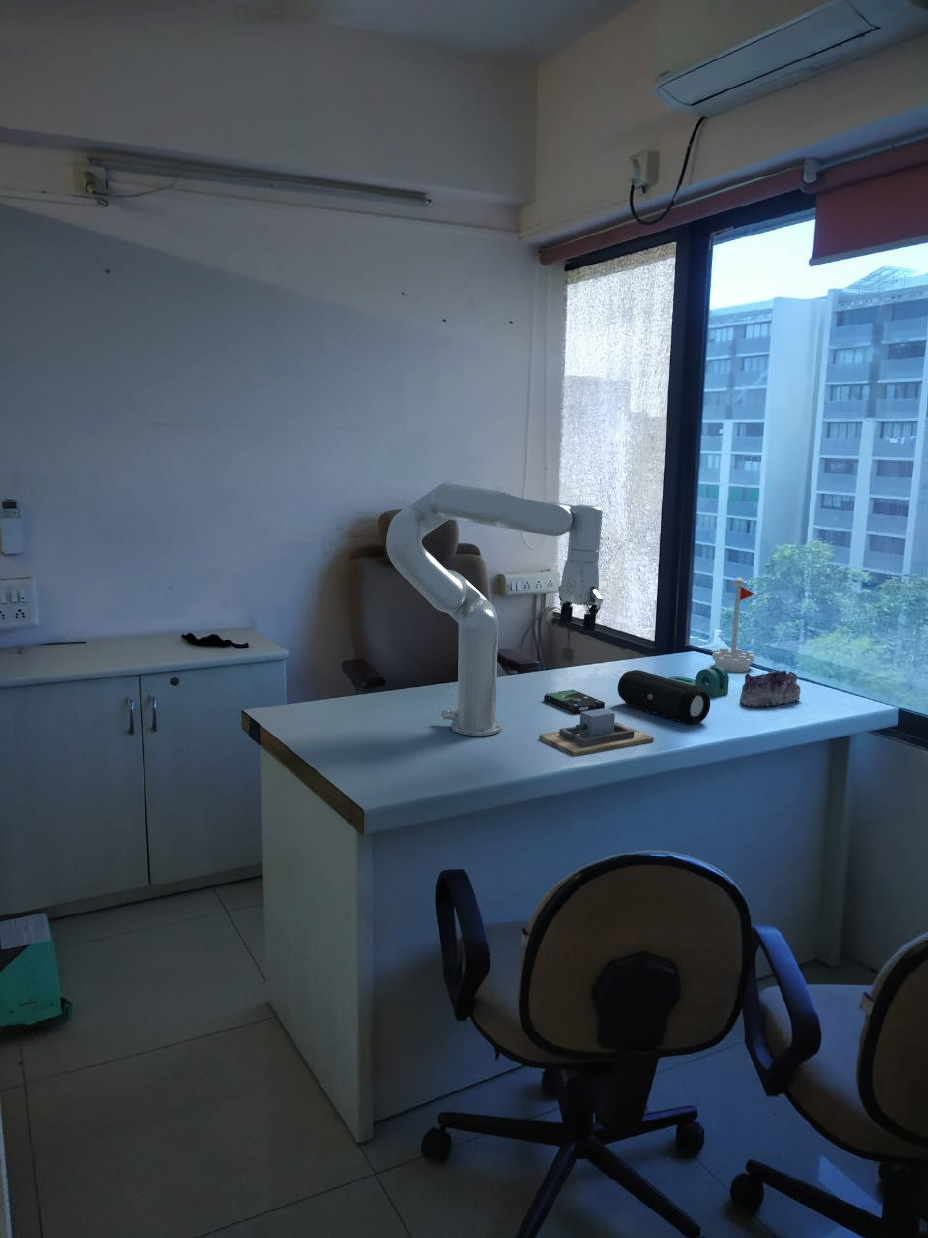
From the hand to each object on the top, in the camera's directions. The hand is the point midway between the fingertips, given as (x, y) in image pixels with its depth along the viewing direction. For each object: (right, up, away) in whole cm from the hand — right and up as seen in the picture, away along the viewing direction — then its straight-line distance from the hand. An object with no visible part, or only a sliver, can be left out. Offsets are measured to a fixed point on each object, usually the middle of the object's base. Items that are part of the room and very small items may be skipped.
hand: (577, 626), depth 224 cm
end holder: (+5, -28, -1) cm, 28 cm away
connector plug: (+5, -27, -2) cm, 27 cm away
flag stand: (+60, -15, +76) cm, 99 cm away
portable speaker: (+26, -24, +23) cm, 42 cm away
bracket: (+41, -20, +48) cm, 66 cm away
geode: (+59, -22, +37) cm, 73 cm away
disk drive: (+3, -23, +29) cm, 37 cm away
